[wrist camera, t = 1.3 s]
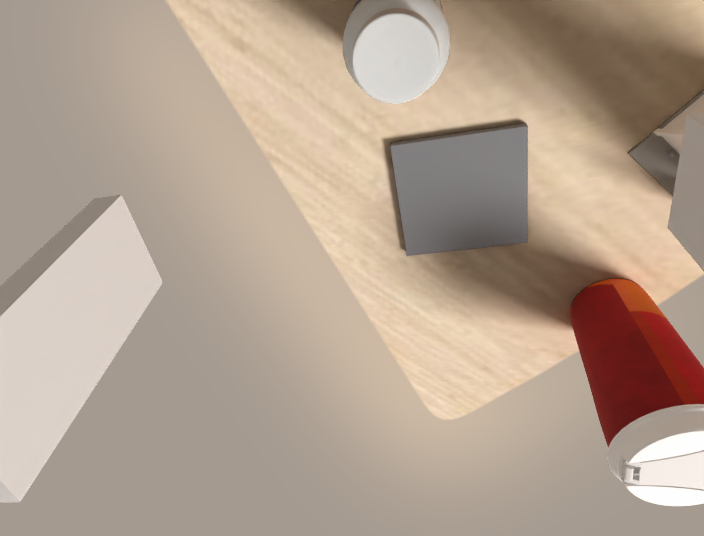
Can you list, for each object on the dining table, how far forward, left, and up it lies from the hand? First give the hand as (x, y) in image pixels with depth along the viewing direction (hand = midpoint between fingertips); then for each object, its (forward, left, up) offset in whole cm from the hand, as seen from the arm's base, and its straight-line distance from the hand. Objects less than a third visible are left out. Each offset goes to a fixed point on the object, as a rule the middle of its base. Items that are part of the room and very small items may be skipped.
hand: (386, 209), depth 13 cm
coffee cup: (+24, +14, -24) cm, 36 cm away
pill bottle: (0, 0, -24) cm, 24 cm away
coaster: (+12, +3, -23) cm, 26 cm away
